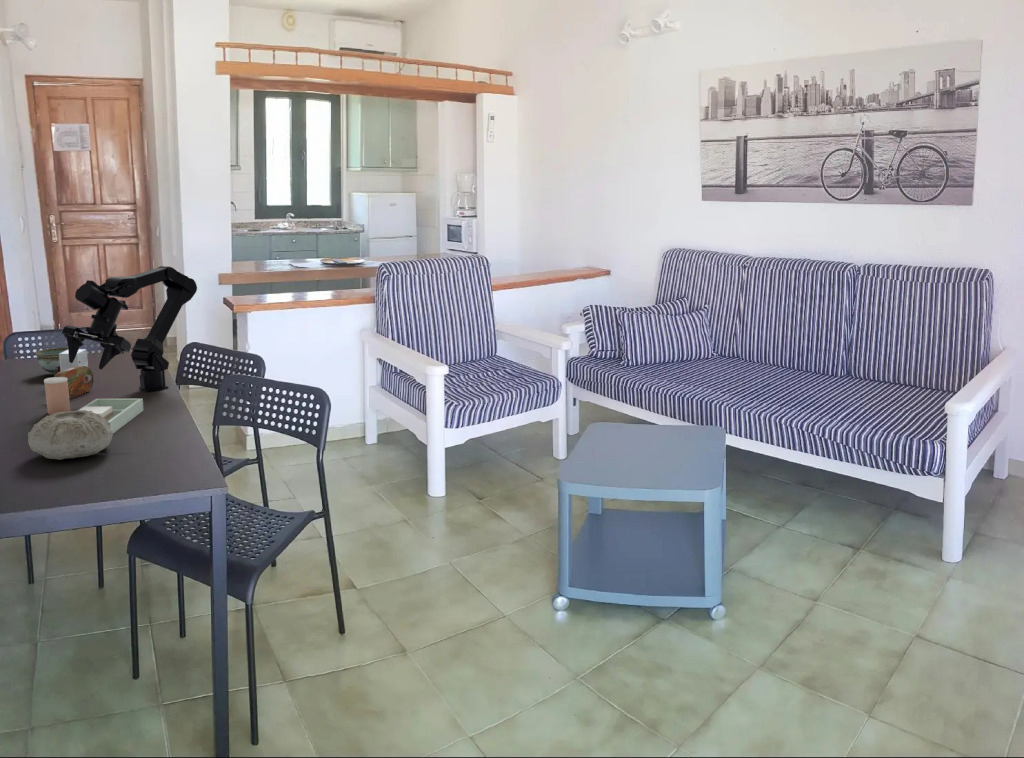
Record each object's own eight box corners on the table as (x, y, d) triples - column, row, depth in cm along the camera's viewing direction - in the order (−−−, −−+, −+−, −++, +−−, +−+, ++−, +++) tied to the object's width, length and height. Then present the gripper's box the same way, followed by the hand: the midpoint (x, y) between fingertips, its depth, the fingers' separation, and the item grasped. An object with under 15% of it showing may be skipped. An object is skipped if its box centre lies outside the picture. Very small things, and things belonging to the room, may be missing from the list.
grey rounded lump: (116, 460, 196) (112, 419, 194) (29, 471, 188) (24, 428, 186) (112, 440, 212) (108, 401, 210) (31, 449, 204) (26, 409, 201)
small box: (72, 380, 273) (68, 348, 271) (90, 380, 274) (86, 348, 271) (61, 386, 265) (57, 353, 263) (79, 386, 266) (76, 353, 263)
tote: (97, 412, 236) (96, 398, 235) (143, 412, 237) (142, 398, 236) (59, 438, 212) (57, 422, 212) (110, 437, 214) (109, 422, 213)
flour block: (86, 424, 222) (84, 406, 221) (114, 424, 223) (112, 406, 222) (74, 432, 215) (73, 413, 214) (103, 432, 216) (101, 413, 215)
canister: (64, 410, 238) (61, 375, 235) (74, 414, 234) (71, 378, 232) (44, 414, 233) (40, 379, 231) (53, 418, 230) (50, 382, 228)
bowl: (70, 379, 274) (67, 355, 272) (29, 378, 274) (26, 354, 273) (91, 370, 288) (89, 347, 286) (52, 369, 288) (49, 346, 286)
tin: (61, 401, 247) (58, 374, 245) (51, 401, 248) (48, 373, 246) (95, 390, 261) (92, 363, 259) (86, 389, 262) (83, 363, 260)
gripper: (148, 333, 251) (128, 381, 246) (90, 321, 254) (70, 368, 249) (130, 318, 241) (109, 368, 236) (71, 306, 243) (49, 355, 238)
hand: (85, 365), depth 240 cm, fingers open, 9 cm apart
